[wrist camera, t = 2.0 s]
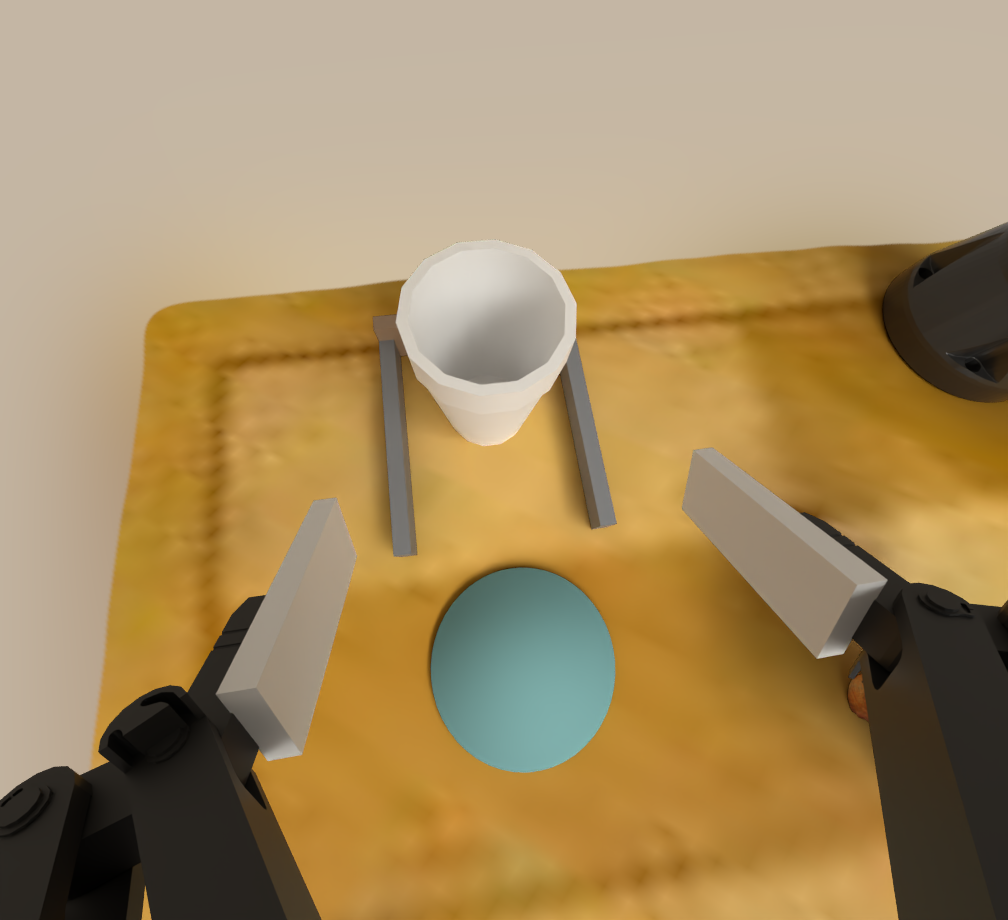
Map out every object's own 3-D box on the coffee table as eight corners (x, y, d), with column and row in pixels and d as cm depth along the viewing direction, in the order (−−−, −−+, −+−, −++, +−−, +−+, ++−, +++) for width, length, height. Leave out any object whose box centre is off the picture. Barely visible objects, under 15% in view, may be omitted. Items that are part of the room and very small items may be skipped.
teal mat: (593, 555, 30) (594, 555, 29) (631, 749, 26) (633, 752, 26) (423, 581, 29) (422, 581, 28) (441, 786, 25) (440, 790, 25)
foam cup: (469, 485, 31) (458, 430, 18) (410, 396, 33) (362, 290, 20) (564, 424, 32) (613, 335, 20) (502, 343, 34) (512, 214, 22)
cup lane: (563, 327, 35) (573, 297, 31) (606, 527, 30) (623, 521, 26) (385, 345, 34) (372, 316, 30) (401, 557, 29) (388, 555, 25)
